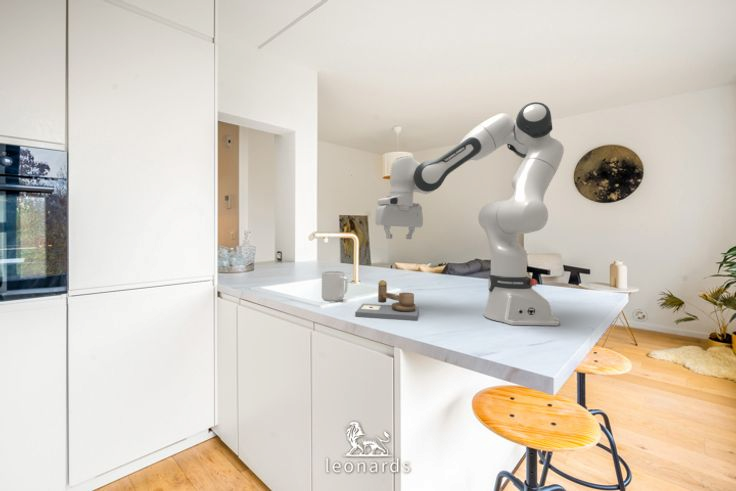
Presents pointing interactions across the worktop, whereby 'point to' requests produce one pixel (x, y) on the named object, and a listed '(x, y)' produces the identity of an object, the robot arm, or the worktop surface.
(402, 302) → the brown wooden piece
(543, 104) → the robot arm
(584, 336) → the worktop surface
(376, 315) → the stand
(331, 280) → the mug
